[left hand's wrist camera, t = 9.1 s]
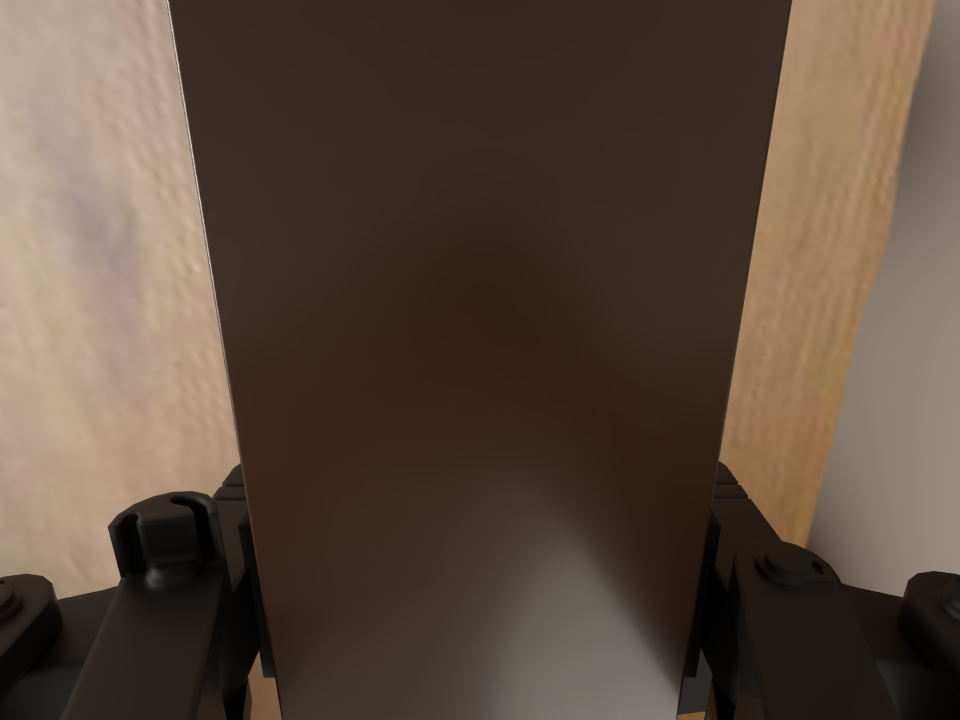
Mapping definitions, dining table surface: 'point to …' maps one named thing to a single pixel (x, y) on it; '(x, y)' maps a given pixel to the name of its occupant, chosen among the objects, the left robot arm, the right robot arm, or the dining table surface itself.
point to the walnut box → (479, 332)
